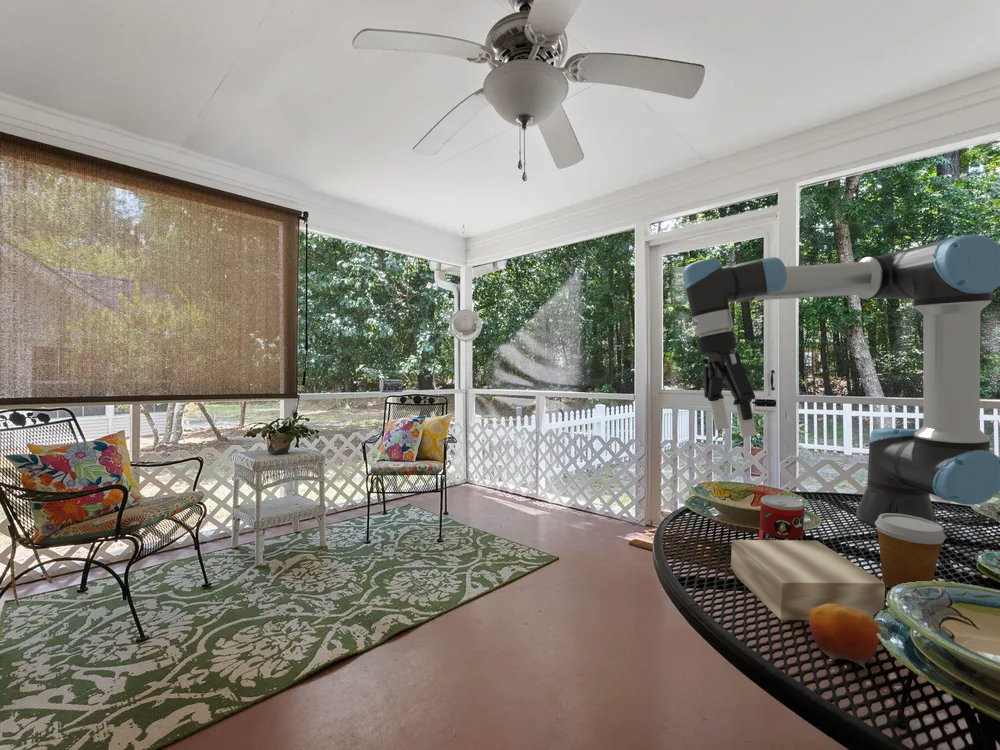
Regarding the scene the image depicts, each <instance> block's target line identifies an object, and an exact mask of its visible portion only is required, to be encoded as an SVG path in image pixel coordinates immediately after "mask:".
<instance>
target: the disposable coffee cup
mask: <svg viewBox="0 0 1000 750" xmlns="http://www.w3.org/2000/svg"><path fill="white" fill-rule="evenodd" d="M875 525H876V526H875V528H876V530H877V535H878V544H879V545H878V546H879V555H880V556H879V558H880V566H881V567H880V568H881V579H882V580H883V581H884V582H885V583H886V584H887V585H888V586H889V588H892V587H893V586H896V585H898V584H901V583H907V582H916V581H932V582H933V579H934V576H935V571H936V568H937V563H938V561H939V556H940V551H941V548H942V544H943V543H944V542H945V540H946V539H947V535H946V534H945V532H944V528H943V526H942V525H940V524H939V523H938V524H937V523H935V522H932V521H929V520H926V519H923V518H919V517H915V516H910V515H904V514H894V513H885V514H880V515H879V517H878V520H876V521H875ZM882 580H881V581H882ZM889 588H888V589H889Z"/></svg>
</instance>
